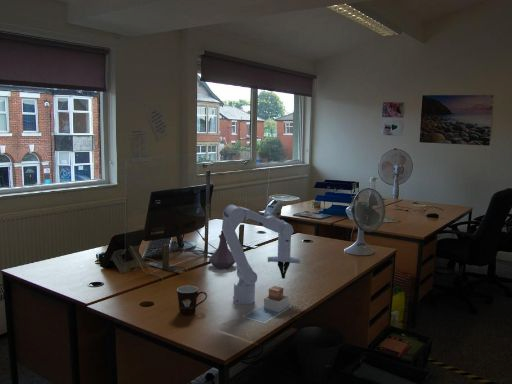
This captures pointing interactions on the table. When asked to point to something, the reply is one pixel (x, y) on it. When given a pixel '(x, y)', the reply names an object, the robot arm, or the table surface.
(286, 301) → the socket pedestal
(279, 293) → the terracotta block
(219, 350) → the table surface
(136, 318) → the table surface
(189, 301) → the coffee mug
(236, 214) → the robot arm
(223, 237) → the flask
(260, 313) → the board
